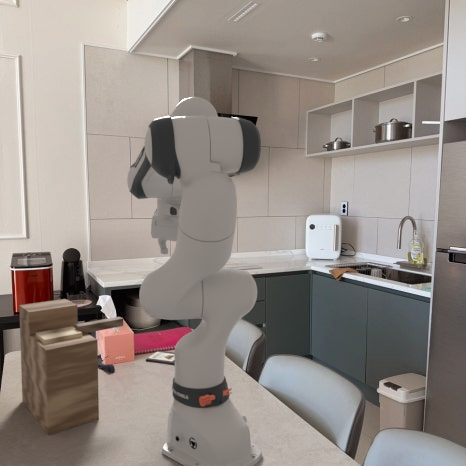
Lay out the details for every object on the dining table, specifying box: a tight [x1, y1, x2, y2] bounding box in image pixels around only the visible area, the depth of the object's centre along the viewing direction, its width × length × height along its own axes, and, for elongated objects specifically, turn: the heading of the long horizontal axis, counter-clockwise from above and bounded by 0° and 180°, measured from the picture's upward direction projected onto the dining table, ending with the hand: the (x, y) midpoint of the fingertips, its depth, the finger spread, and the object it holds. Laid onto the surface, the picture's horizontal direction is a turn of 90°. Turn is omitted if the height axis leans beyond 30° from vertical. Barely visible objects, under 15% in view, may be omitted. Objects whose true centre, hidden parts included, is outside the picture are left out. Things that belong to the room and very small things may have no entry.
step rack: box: [18, 298, 100, 436], centre depth 114 cm, size 22×12×26 cm, turn 39°
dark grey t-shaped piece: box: [98, 353, 116, 374], centre depth 144 cm, size 14×15×3 cm
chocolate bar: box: [145, 350, 175, 366], centre depth 151 cm, size 9×1×18 cm
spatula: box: [36, 316, 124, 344], centre depth 114 cm, size 21×7×2 cm, turn 129°
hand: (172, 255), depth 133 cm, fingers open, 8 cm apart
